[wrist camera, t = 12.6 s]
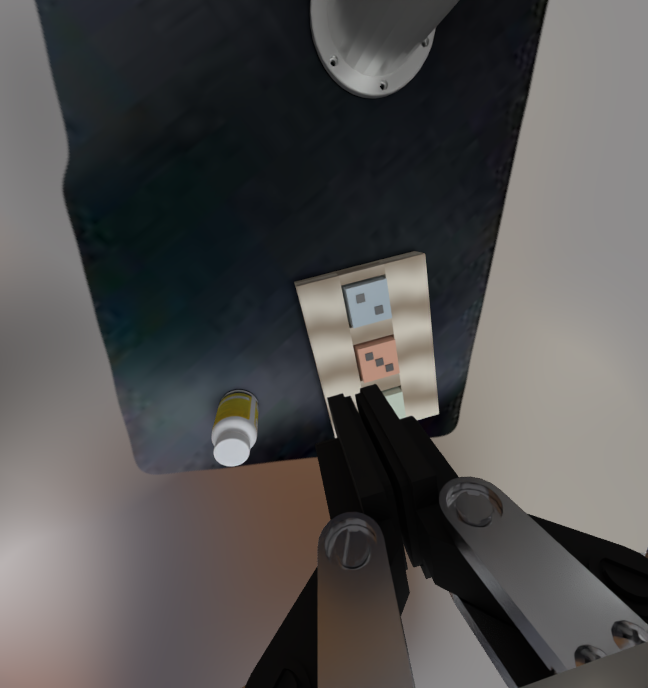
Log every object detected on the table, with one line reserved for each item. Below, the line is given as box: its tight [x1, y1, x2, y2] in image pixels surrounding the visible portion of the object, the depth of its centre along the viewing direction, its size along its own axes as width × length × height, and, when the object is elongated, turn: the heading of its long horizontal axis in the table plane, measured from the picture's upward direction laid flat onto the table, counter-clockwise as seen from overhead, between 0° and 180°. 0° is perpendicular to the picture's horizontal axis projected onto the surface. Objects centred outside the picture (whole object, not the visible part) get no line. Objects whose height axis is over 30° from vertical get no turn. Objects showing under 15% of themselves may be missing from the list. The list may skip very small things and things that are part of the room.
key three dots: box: [353, 335, 400, 383], centre depth 42 cm, size 5×5×3 cm
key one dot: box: [381, 386, 406, 419], centre depth 45 cm, size 5×5×3 cm
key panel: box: [294, 251, 439, 438], centre depth 43 cm, size 24×16×3 cm, turn 12°
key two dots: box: [341, 276, 392, 328], centre depth 39 cm, size 5×5×3 cm
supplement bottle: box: [212, 390, 258, 466], centre depth 40 cm, size 5×5×10 cm
